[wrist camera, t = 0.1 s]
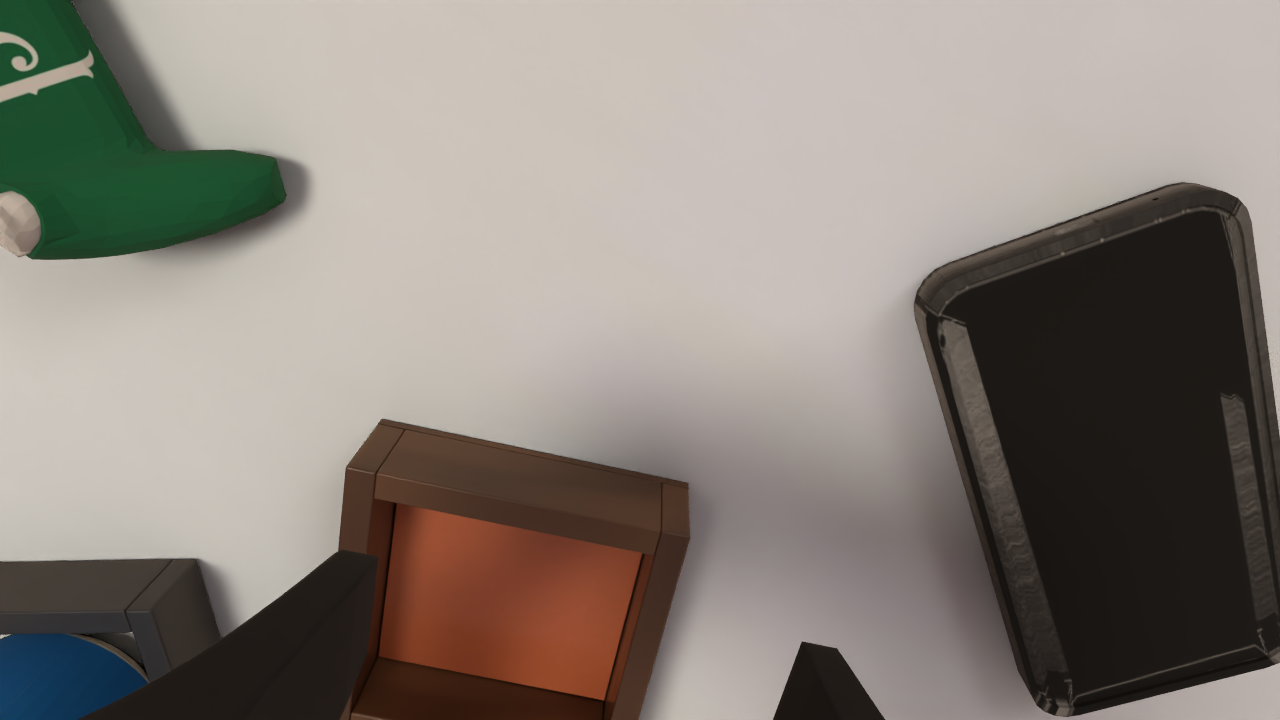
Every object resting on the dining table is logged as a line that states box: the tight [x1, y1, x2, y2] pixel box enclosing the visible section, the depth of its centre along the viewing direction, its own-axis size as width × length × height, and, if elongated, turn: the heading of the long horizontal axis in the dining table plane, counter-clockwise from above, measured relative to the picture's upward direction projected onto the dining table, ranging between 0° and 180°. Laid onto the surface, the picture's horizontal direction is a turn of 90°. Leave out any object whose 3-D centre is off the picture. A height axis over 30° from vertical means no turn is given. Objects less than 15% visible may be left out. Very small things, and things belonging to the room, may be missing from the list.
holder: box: [0, 559, 220, 682], centre depth 27 cm, size 11×11×2 cm
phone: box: [914, 182, 1280, 717], centre depth 23 cm, size 8×1×15 cm
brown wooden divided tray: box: [338, 419, 690, 720], centre depth 26 cm, size 9×17×3 cm, turn 168°
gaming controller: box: [0, 0, 287, 260], centre depth 19 cm, size 9×4×6 cm
